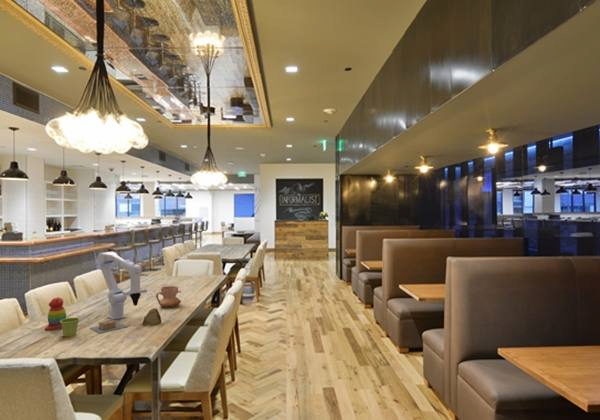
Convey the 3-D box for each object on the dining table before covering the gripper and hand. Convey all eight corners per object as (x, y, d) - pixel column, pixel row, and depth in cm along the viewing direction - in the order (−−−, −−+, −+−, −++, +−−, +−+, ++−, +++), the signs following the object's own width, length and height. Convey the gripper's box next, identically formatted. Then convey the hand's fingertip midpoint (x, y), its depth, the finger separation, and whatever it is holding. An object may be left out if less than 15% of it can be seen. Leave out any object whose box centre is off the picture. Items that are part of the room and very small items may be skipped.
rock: (137, 322, 225) (153, 320, 224) (141, 309, 230) (156, 307, 229) (146, 328, 233) (161, 327, 232) (149, 315, 239) (164, 314, 238)
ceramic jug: (183, 303, 280) (183, 284, 280) (179, 308, 266) (179, 288, 266) (158, 304, 278) (158, 285, 278) (153, 309, 263) (153, 289, 264)
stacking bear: (48, 325, 226) (49, 296, 226) (68, 323, 229) (68, 295, 229) (43, 331, 216) (43, 300, 216) (63, 329, 219) (63, 299, 219)
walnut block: (111, 325, 225) (98, 328, 220) (111, 319, 225) (98, 322, 220) (115, 327, 221) (102, 330, 216) (115, 321, 221) (102, 324, 216)
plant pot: (75, 331, 215) (75, 316, 215) (82, 334, 209) (82, 319, 209) (57, 335, 208) (57, 320, 208) (63, 339, 202) (63, 323, 202)
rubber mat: (89, 328, 220) (89, 327, 220) (117, 322, 233) (117, 321, 233) (99, 333, 211) (99, 332, 211) (127, 326, 224) (127, 326, 224)
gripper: (127, 286, 230) (126, 308, 230) (149, 283, 241) (149, 304, 241) (121, 285, 235) (121, 306, 235) (143, 281, 246) (143, 302, 246)
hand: (135, 305), depth 238 cm, fingers closed
